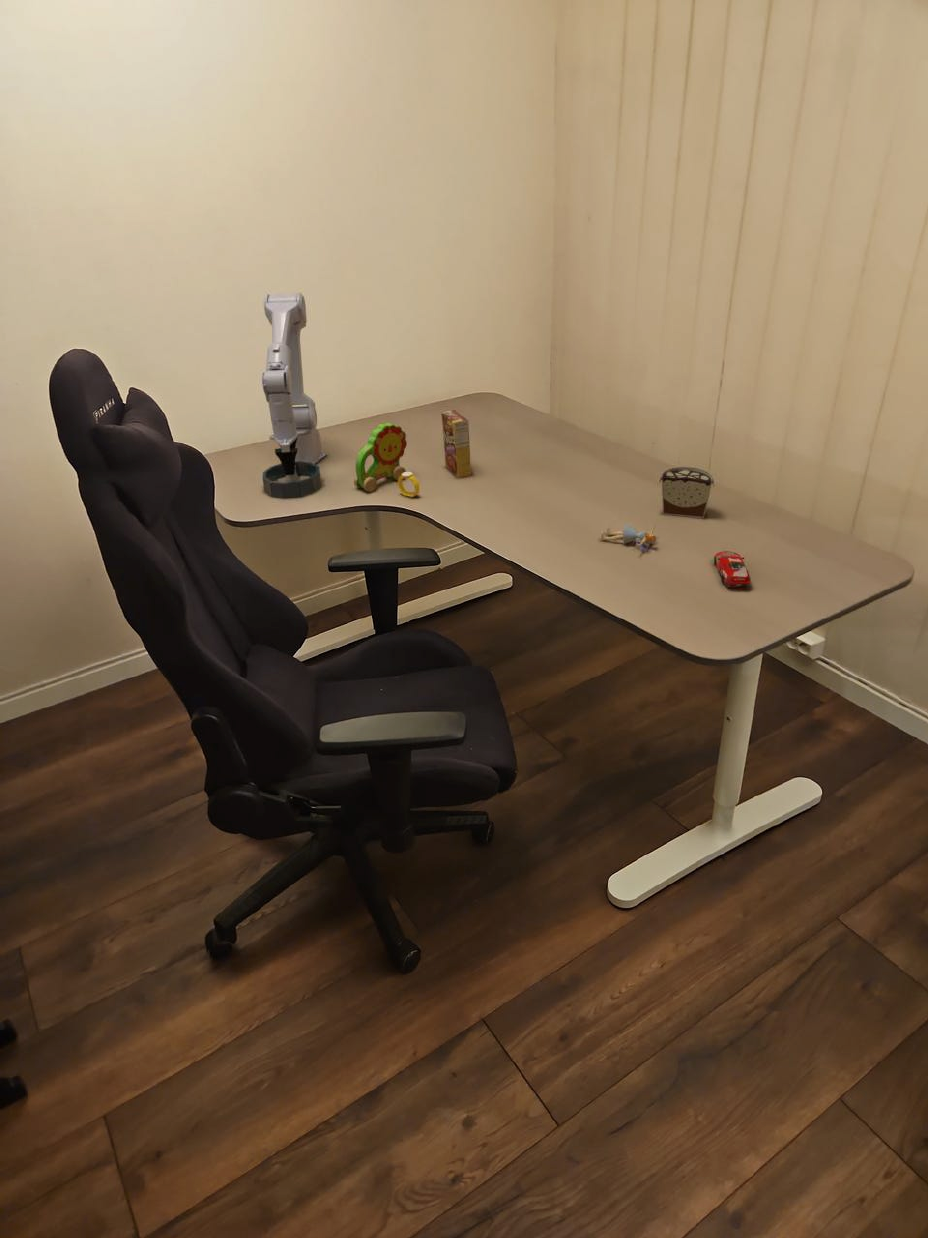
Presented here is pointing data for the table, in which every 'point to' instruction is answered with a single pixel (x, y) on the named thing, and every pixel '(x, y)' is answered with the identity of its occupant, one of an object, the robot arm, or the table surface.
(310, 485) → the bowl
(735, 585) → the race car
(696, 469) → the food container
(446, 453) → the candy box
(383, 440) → the toy lion
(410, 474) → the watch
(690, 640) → the table surface
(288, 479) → the rook chess piece
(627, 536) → the fairy figurine
